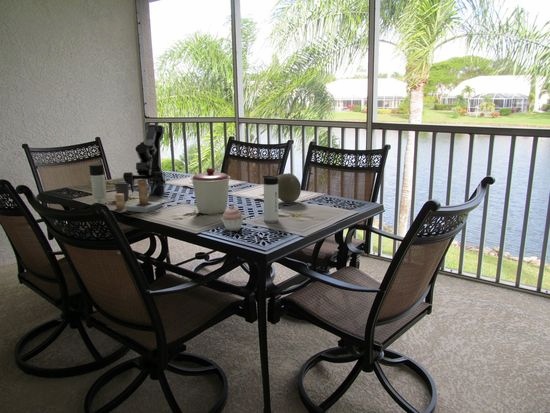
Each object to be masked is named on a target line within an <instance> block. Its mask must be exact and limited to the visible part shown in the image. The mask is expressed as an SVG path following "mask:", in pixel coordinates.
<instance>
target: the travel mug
mask: <svg viewBox="0 0 550 413" xmlns="http://www.w3.org/2000/svg"><path fill="white" fill-rule="evenodd" d="M262 178H263V221H264V223H266V222H267V224H276V223H278V222H279V198H278V178H277V176H275V175H274V176H273V175H262ZM275 222H276V223H275Z"/></svg>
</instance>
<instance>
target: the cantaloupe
mask: <svg viewBox="0 0 550 413" xmlns="http://www.w3.org/2000/svg"><path fill="white" fill-rule="evenodd" d="M276 177H277V178H278V200H279V201H281V202H284V203H293V202H296V201H297V200H298V199H299V198H300V196H301V192H302V190H301V188H302V185H301V182H300V180H299V179H298V177H297V176H296V175H295V174H293V173H281V174H278V175H276Z"/></svg>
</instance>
